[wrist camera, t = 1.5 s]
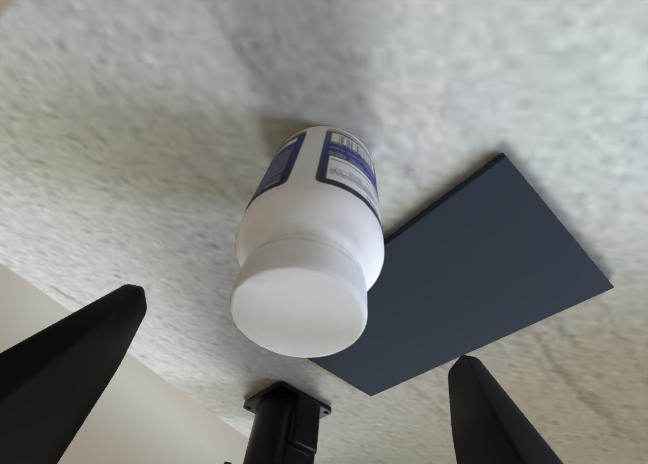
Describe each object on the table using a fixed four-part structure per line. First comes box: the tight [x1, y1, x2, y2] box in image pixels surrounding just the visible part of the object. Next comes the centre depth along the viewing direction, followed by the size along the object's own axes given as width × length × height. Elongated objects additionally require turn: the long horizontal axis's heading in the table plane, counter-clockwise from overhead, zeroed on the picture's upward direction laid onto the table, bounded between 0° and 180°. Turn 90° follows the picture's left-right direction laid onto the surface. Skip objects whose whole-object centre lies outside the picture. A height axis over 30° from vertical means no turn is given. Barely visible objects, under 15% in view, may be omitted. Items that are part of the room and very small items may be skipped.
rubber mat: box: [307, 153, 614, 396], centre depth 22 cm, size 20×12×1 cm, turn 138°
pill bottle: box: [230, 126, 384, 358], centre depth 13 cm, size 5×5×10 cm
